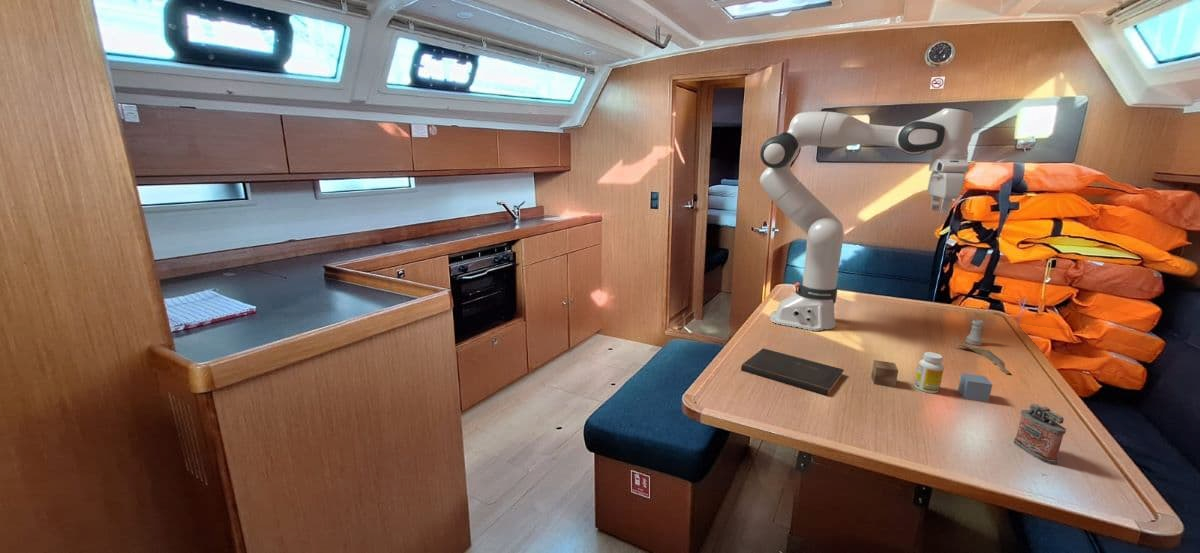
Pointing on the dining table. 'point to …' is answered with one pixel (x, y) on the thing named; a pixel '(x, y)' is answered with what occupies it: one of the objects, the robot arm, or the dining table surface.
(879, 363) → the walnut block
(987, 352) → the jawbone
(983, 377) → the slate-blue block
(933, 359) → the supplement bottle
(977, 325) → the rook chess piece
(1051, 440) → the lighter
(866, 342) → the dining table surface
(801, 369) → the hardcover book
